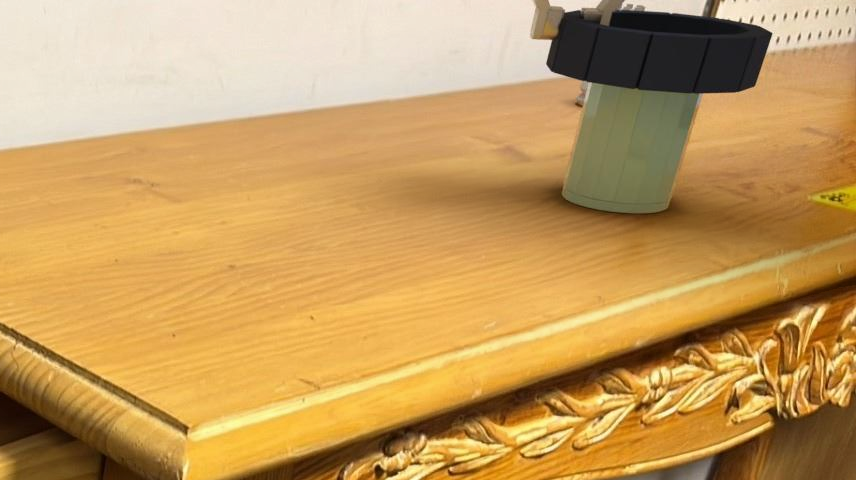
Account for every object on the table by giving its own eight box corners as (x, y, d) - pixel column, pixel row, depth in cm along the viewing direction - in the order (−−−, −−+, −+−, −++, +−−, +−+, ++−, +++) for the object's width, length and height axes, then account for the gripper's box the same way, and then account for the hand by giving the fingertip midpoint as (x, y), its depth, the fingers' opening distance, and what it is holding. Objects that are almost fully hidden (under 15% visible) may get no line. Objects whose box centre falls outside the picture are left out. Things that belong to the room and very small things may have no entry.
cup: (657, 192, 80) (700, 47, 75) (677, 217, 74) (724, 63, 70) (555, 184, 81) (591, 41, 77) (567, 208, 76) (606, 57, 72)
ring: (727, 67, 77) (743, 16, 76) (774, 99, 68) (794, 43, 67) (538, 54, 80) (550, 5, 79) (559, 84, 71) (573, 29, 69)
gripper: (435, -226, 68) (389, 38, 74) (854, -226, 63) (764, 57, 69) (431, -222, 73) (388, 24, 80) (817, -222, 68) (737, 41, 75)
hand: (566, 40), depth 74 cm, fingers closed on ring
